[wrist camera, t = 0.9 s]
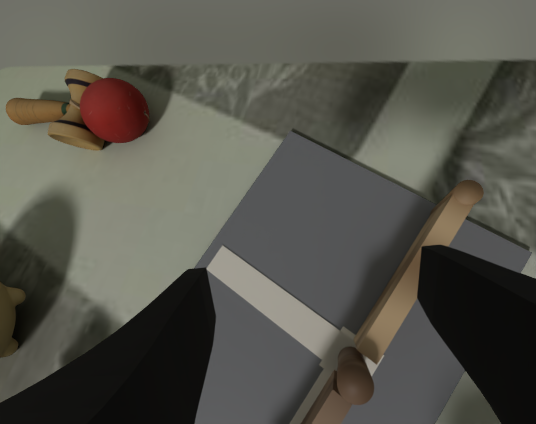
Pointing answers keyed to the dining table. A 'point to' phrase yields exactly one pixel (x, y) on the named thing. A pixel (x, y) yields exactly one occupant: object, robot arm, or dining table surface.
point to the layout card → (323, 293)
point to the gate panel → (414, 271)
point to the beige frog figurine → (8, 318)
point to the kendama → (87, 111)
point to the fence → (342, 389)
